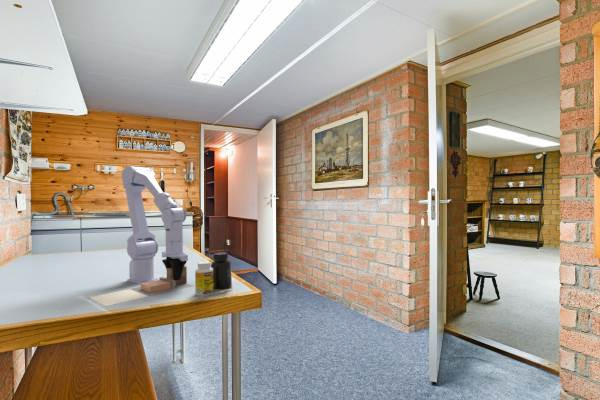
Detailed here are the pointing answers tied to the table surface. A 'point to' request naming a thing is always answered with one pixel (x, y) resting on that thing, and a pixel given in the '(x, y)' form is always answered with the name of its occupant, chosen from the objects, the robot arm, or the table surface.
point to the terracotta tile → (155, 286)
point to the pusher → (171, 279)
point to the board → (131, 295)
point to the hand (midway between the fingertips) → (174, 279)
